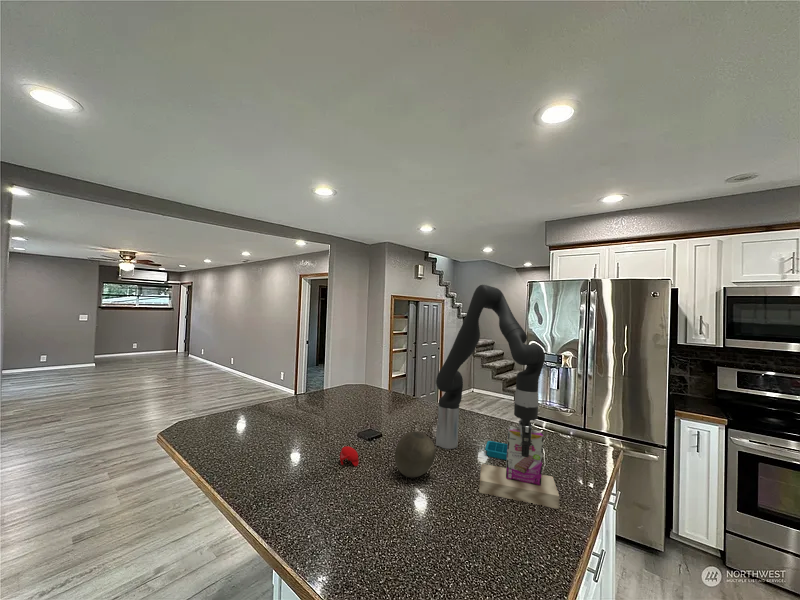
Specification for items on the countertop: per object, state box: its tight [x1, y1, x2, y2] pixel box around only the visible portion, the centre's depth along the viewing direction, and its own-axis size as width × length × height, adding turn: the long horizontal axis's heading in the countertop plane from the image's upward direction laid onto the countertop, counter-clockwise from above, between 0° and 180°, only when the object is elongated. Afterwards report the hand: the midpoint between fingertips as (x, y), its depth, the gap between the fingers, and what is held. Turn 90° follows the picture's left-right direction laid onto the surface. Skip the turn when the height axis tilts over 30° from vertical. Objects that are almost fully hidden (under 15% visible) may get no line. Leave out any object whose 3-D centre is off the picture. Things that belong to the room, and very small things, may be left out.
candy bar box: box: [505, 425, 544, 486], centre depth 110 cm, size 11×5×16 cm, turn 72°
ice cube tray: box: [484, 440, 508, 461], centre depth 138 cm, size 12×20×3 cm, turn 69°
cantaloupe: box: [394, 430, 437, 479], centre depth 117 cm, size 14×14×15 cm
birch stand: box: [478, 463, 560, 510], centre depth 110 cm, size 24×13×4 cm, turn 73°
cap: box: [339, 445, 360, 467], centre depth 123 cm, size 8×6×6 cm
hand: (524, 451), depth 110 cm, fingers open, 8 cm apart
